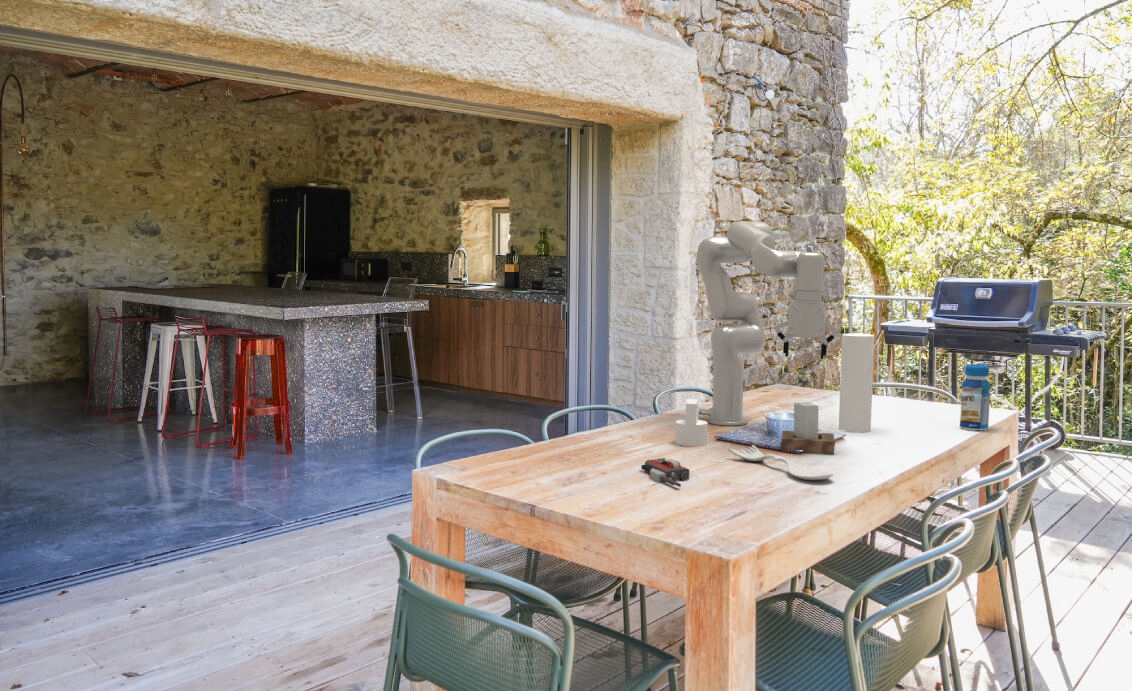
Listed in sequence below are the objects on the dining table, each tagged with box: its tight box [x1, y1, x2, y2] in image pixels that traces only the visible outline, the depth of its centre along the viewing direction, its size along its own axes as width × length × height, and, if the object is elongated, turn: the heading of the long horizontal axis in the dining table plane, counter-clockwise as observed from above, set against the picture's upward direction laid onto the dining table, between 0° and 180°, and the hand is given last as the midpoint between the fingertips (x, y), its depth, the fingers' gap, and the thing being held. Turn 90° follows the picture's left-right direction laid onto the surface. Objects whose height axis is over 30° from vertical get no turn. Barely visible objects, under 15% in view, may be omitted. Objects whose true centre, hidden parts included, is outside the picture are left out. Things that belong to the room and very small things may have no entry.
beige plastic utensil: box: [727, 444, 834, 481], centre depth 221 cm, size 9×32×4 cm, turn 28°
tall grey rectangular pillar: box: [838, 332, 875, 433], centre depth 272 cm, size 9×9×30 cm
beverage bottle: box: [959, 364, 992, 432], centre depth 276 cm, size 8×8×20 cm
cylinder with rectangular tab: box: [674, 398, 709, 447], centre depth 252 cm, size 9×9×12 cm
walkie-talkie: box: [640, 457, 690, 488], centre depth 211 cm, size 9×4×20 cm
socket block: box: [780, 430, 836, 456], centre depth 245 cm, size 14×12×4 cm
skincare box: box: [793, 401, 819, 439], centre depth 245 cm, size 6×4×12 cm
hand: (804, 357), depth 249 cm, fingers open, 9 cm apart
